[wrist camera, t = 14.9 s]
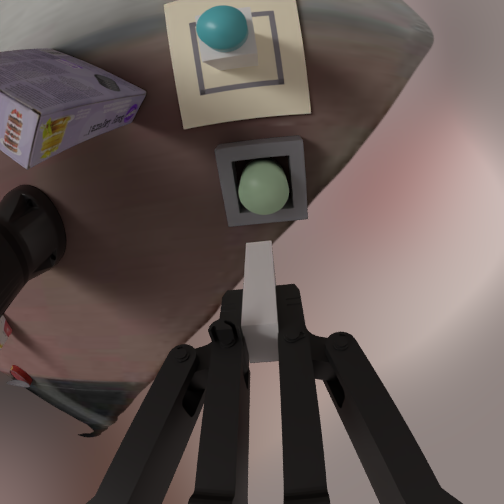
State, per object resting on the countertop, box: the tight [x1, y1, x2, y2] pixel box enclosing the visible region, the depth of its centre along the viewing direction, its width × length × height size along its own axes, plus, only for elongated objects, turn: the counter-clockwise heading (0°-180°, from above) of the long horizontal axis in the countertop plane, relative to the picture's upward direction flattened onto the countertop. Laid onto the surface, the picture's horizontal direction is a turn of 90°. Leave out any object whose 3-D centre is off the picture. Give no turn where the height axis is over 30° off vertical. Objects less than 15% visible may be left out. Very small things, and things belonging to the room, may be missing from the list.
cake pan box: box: [0, 49, 147, 170], centre depth 17 cm, size 19×5×18 cm, turn 55°
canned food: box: [7, 365, 32, 387], centre depth 67 cm, size 11×10×10 cm
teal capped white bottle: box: [195, 5, 258, 71], centre depth 18 cm, size 4×4×12 cm
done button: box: [238, 157, 289, 215], centre depth 29 cm, size 5×5×4 cm
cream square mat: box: [164, 0, 311, 129], centre depth 24 cm, size 14×16×1 cm
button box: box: [215, 136, 308, 227], centre depth 30 cm, size 9×9×3 cm
